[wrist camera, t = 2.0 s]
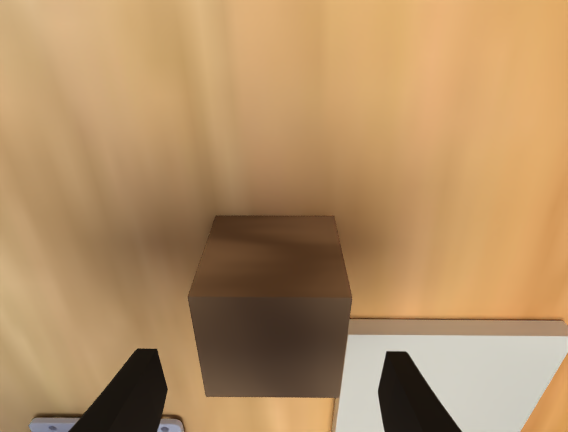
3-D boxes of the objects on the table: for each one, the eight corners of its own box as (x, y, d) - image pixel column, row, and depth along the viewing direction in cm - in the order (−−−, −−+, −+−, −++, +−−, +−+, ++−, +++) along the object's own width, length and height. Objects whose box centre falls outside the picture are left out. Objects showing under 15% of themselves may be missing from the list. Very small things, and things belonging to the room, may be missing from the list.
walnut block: (226, 301, 18) (205, 396, 13) (216, 214, 15) (187, 296, 11) (326, 302, 18) (339, 397, 13) (333, 215, 15) (352, 297, 11)
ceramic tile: (330, 438, 23) (332, 454, 23) (345, 319, 18) (348, 334, 17) (497, 439, 23) (505, 456, 23) (563, 320, 18) (577, 336, 17)
